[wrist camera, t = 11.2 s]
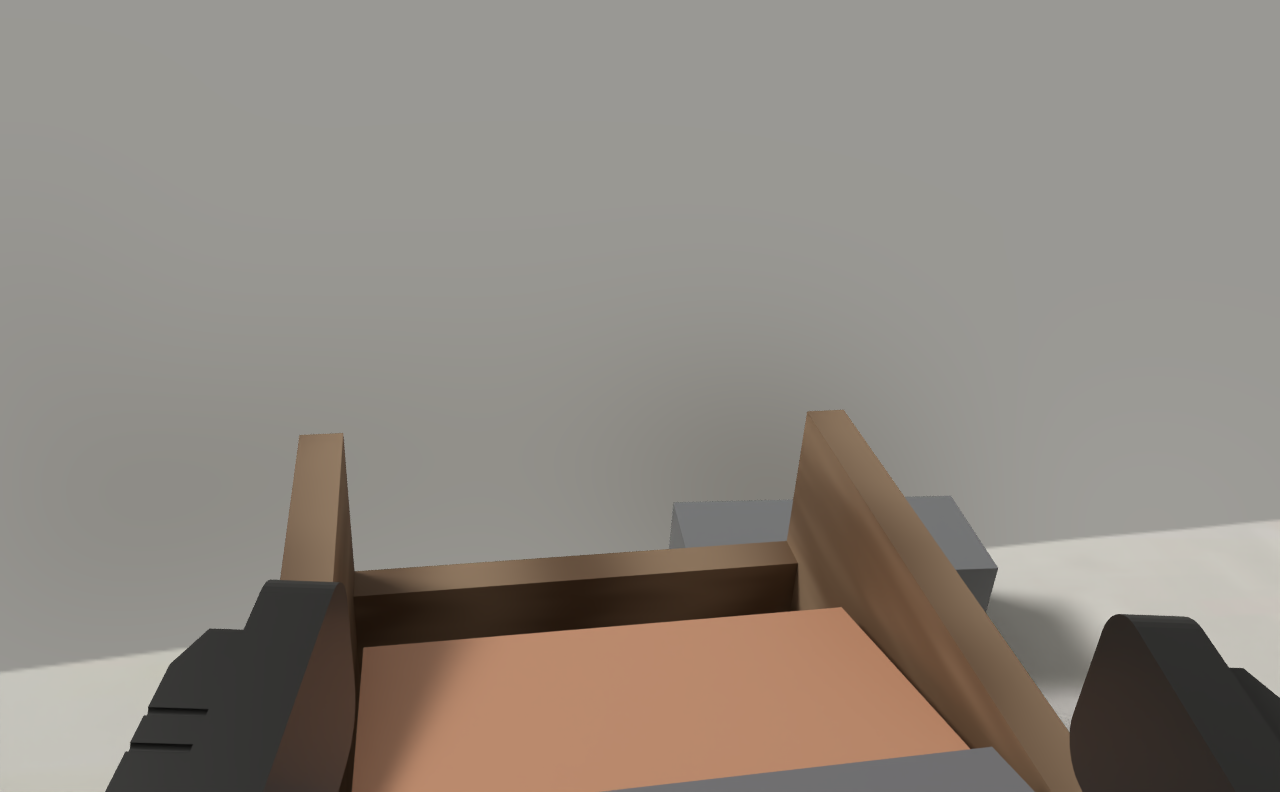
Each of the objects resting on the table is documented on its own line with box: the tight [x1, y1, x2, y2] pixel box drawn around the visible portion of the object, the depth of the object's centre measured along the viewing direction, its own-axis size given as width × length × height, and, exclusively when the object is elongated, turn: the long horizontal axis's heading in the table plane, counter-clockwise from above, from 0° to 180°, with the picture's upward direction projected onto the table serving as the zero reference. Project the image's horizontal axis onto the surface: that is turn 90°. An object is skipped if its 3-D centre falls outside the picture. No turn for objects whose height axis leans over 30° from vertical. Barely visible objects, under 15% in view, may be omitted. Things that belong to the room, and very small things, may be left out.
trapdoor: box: [352, 607, 1035, 792], centre depth 24 cm, size 13×12×3 cm
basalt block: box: [669, 496, 998, 613], centre depth 41 cm, size 4×4×11 cm
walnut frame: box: [280, 410, 1082, 792], centre depth 28 cm, size 16×17×11 cm
